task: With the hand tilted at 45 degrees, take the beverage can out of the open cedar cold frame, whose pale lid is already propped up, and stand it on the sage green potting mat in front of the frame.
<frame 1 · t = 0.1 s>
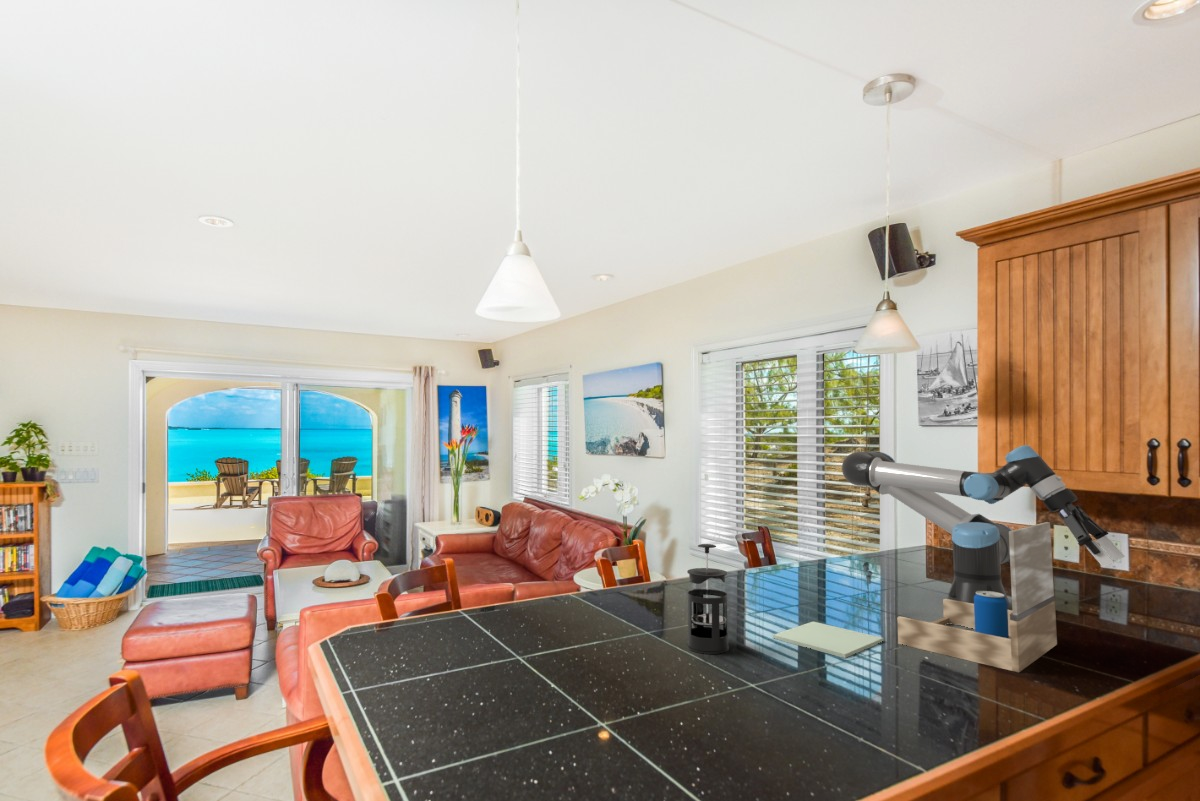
hand: (1114, 561, 164), 15 cm above the counter, tool tilted 35°, fingers open, 13 cm apart
french press: (706, 647, 140), on the counter
cold frame: (977, 644, 143), on the counter
potting mat: (827, 639, 145), on the counter
beverage can: (992, 648, 140), resting in cold frame
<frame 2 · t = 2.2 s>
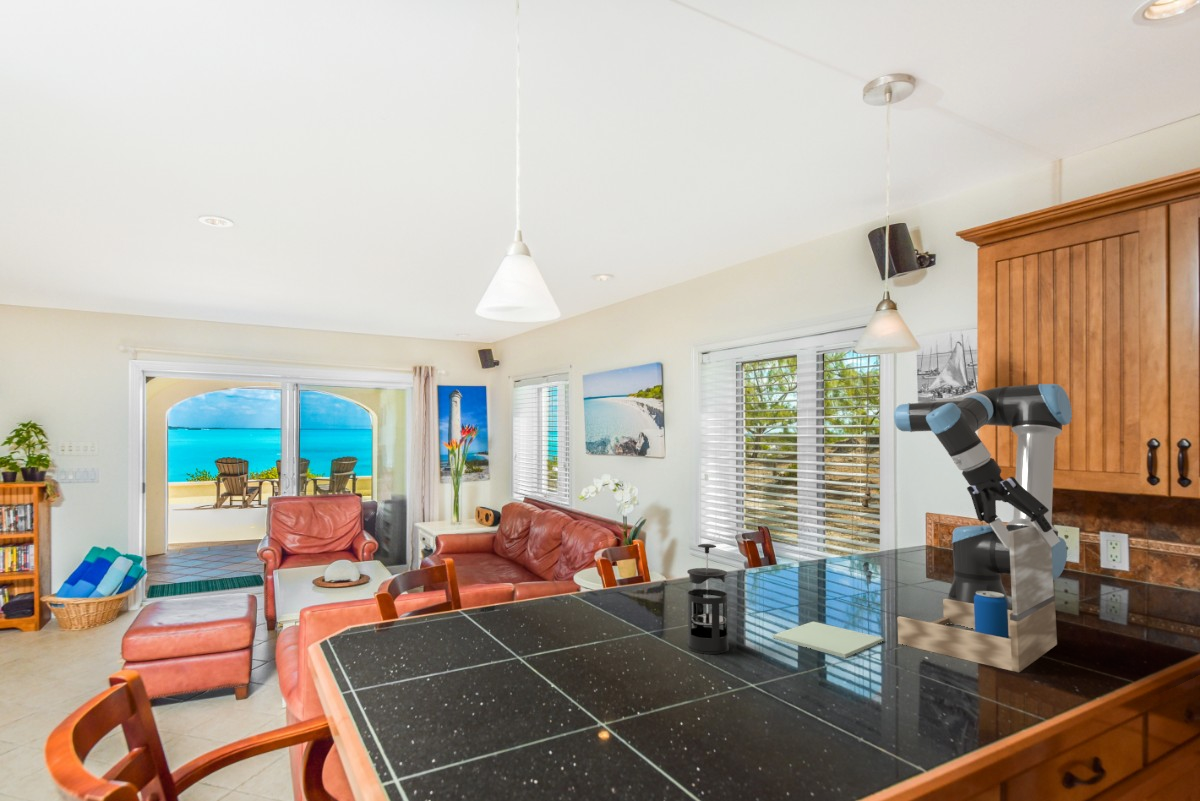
hand: (1031, 544, 142), 23 cm above the counter, tool tilted 30°, fingers open, 13 cm apart
nothing on the counter moved.
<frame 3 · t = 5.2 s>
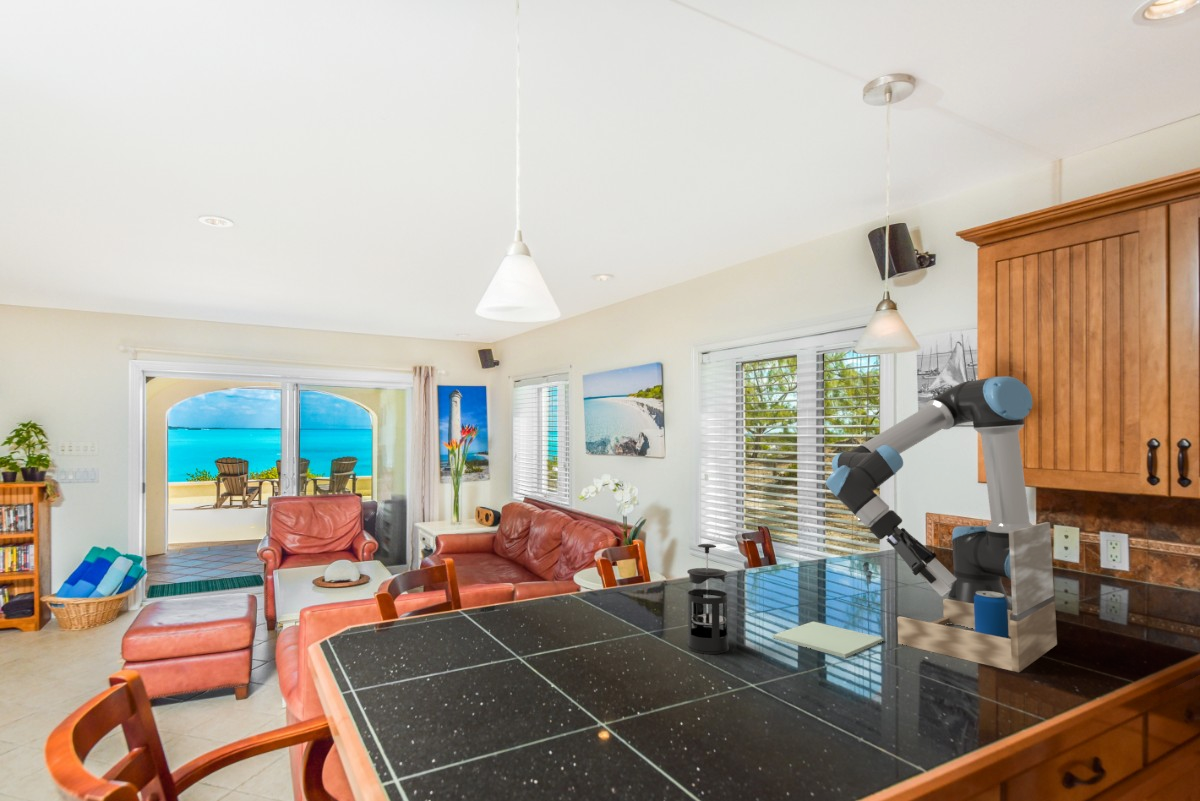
hand: (949, 587, 145), 12 cm above the counter, tool tilted 45°, fingers open, 13 cm apart
nothing on the counter moved.
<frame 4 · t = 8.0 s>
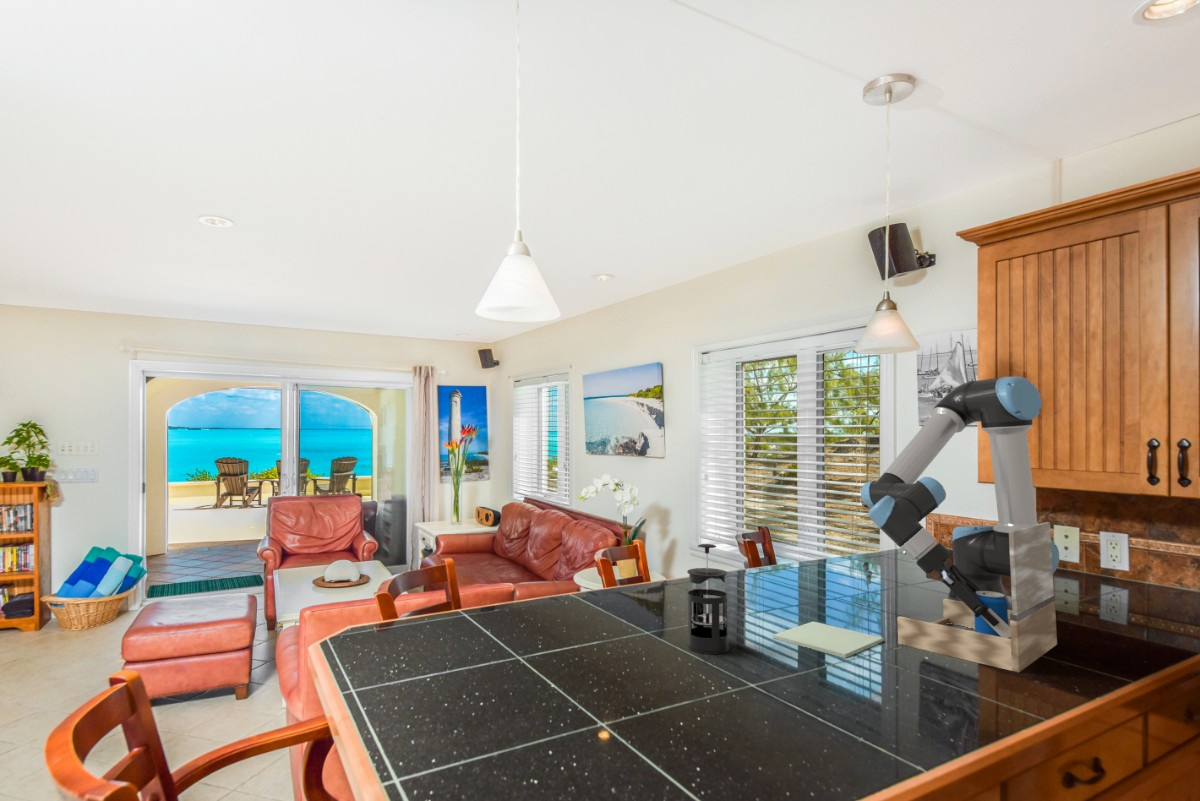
hand: (1010, 632, 139), 4 cm above the counter, tool tilted 45°, fingers closed on beverage can, 6 cm apart
beverage can: (992, 648, 140), resting in cold frame, touching gripper
everything else where it was.
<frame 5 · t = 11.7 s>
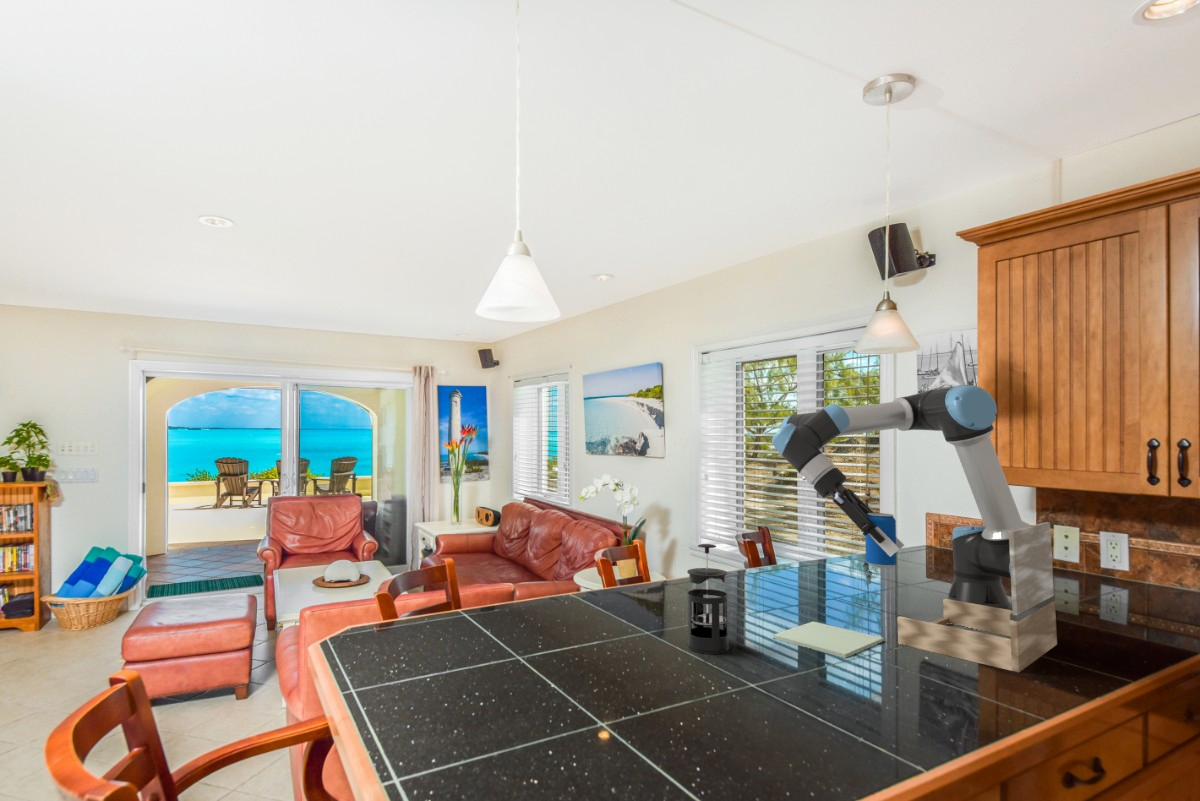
hand: (897, 550, 141), 22 cm above the counter, tool tilted 45°, fingers closed on beverage can, 6 cm apart
beverage can: (880, 567, 143), point 18 cm above the counter, touching gripper
everything else where it was.
when the fingers open (6 cm above the counter, at t = 15.3 s): beverage can drops 1 cm, resting on potting mat.
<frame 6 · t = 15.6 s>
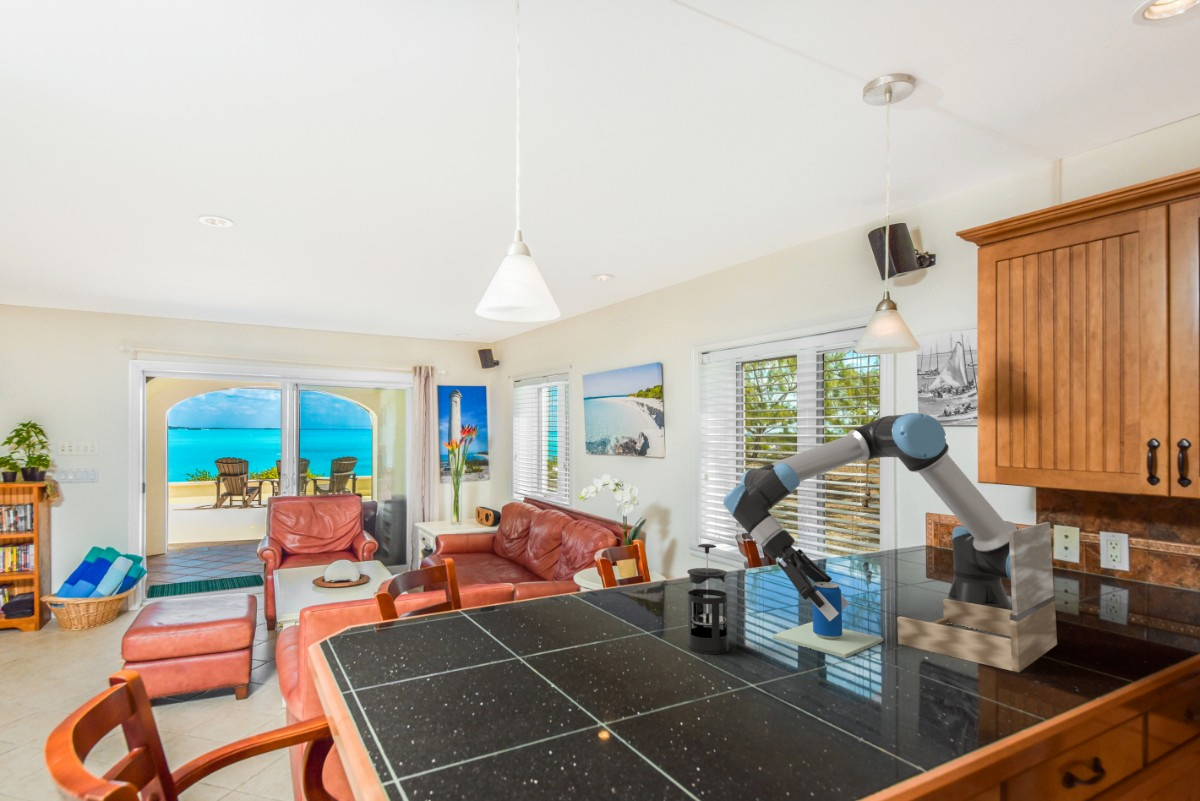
hand: (840, 612, 144), 7 cm above the counter, tool tilted 45°, fingers open, 10 cm apart
beverage can: (827, 637, 145), point 1 cm above the counter, touching potting mat
everything else where it was.
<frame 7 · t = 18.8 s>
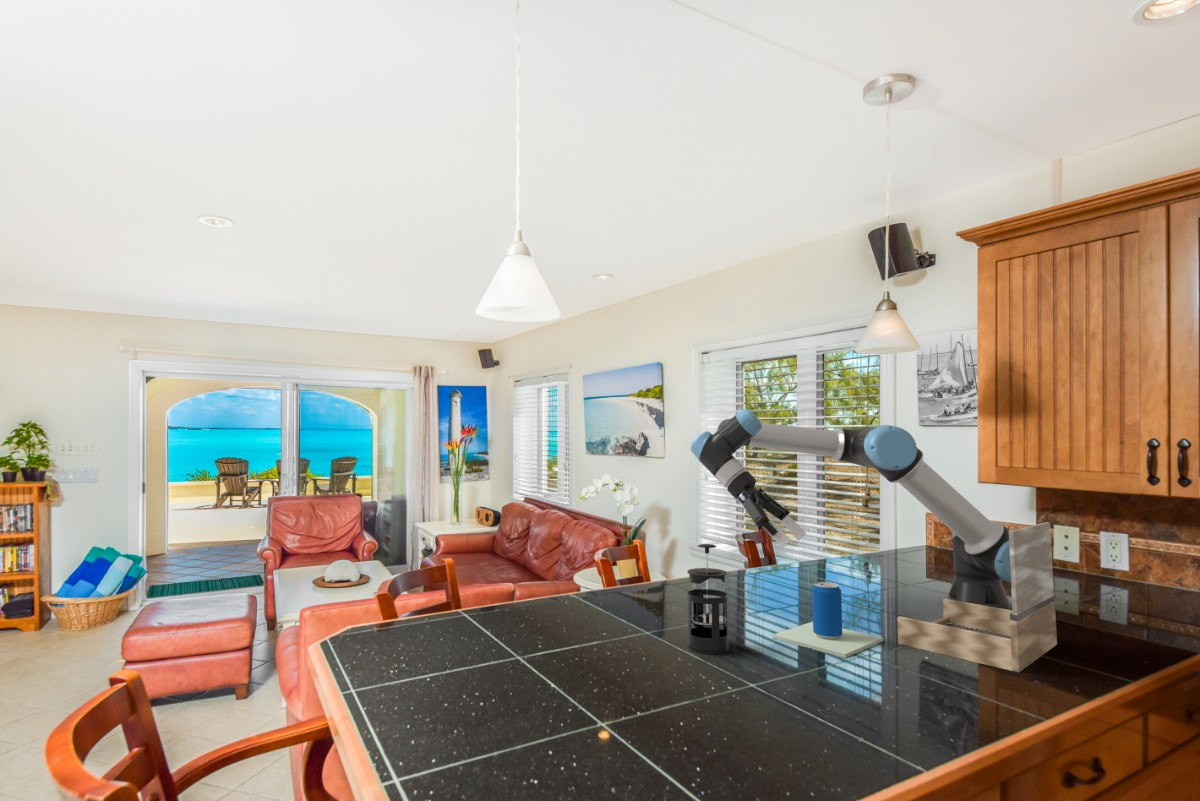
hand: (794, 540, 156), 22 cm above the counter, tool tilted 45°, fingers open, 13 cm apart
nothing on the counter moved.
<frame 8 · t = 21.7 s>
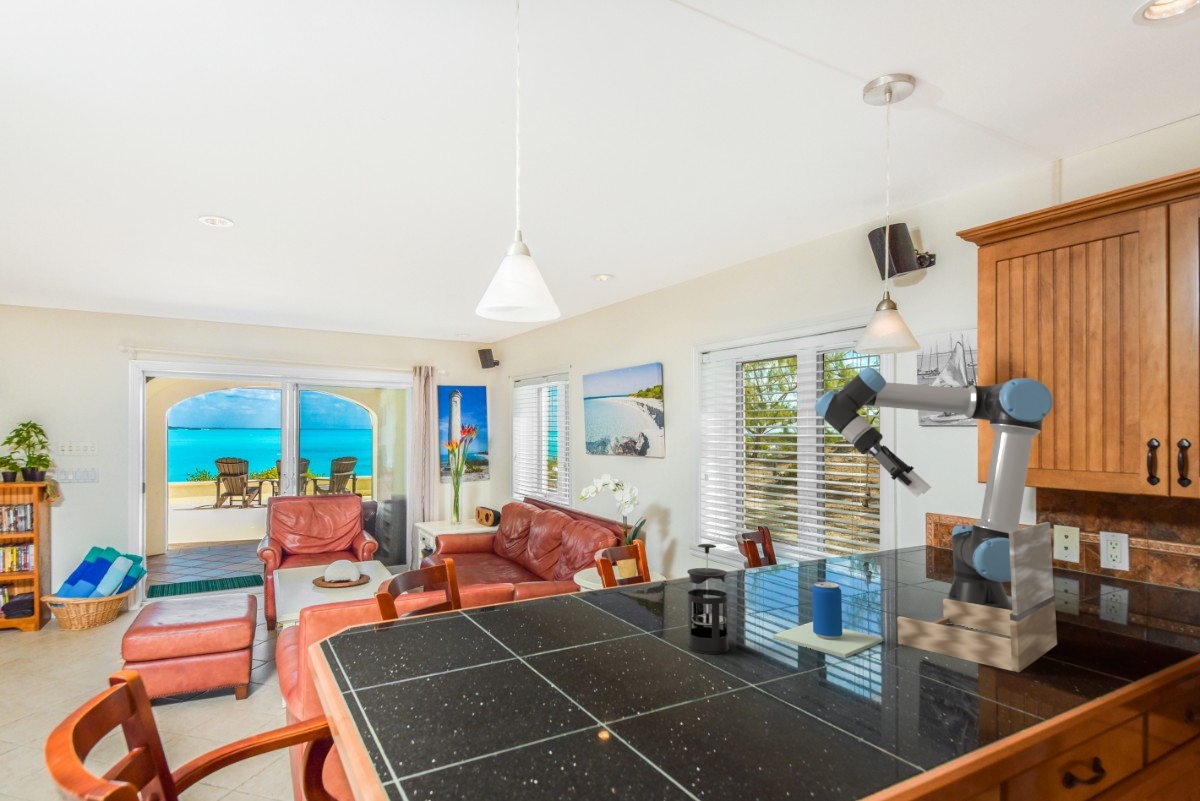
hand: (924, 492, 163), 34 cm above the counter, tool tilted 45°, fingers open, 13 cm apart
nothing on the counter moved.
at the end: beverage can inside the target area on the potting mat (0.2 cm from its centre), point 0.6 cm above the potting mat's base; beverage can tilted 0°; the gripper is holding nothing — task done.
